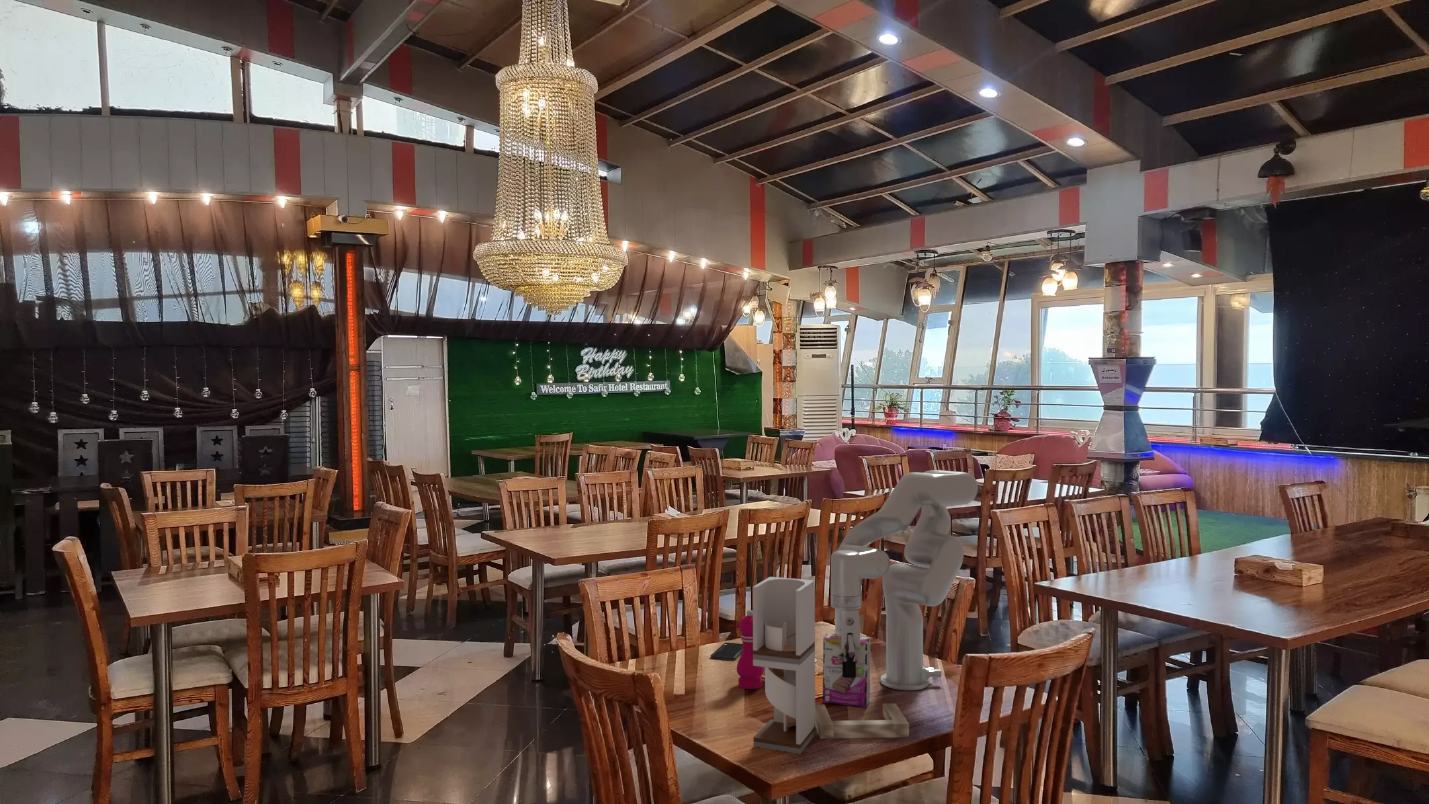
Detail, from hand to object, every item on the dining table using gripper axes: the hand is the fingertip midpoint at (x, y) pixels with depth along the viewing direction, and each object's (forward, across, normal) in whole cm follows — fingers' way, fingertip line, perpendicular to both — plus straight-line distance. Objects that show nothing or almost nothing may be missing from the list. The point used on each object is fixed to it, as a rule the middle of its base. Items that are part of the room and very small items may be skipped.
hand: (846, 671), depth 221 cm
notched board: (+8, -16, 0) cm, 18 cm away
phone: (+8, +44, +27) cm, 52 cm away
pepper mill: (+8, +14, +23) cm, 28 cm away
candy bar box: (+8, 0, 0) cm, 8 cm away
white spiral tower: (+8, -23, +18) cm, 31 cm away
